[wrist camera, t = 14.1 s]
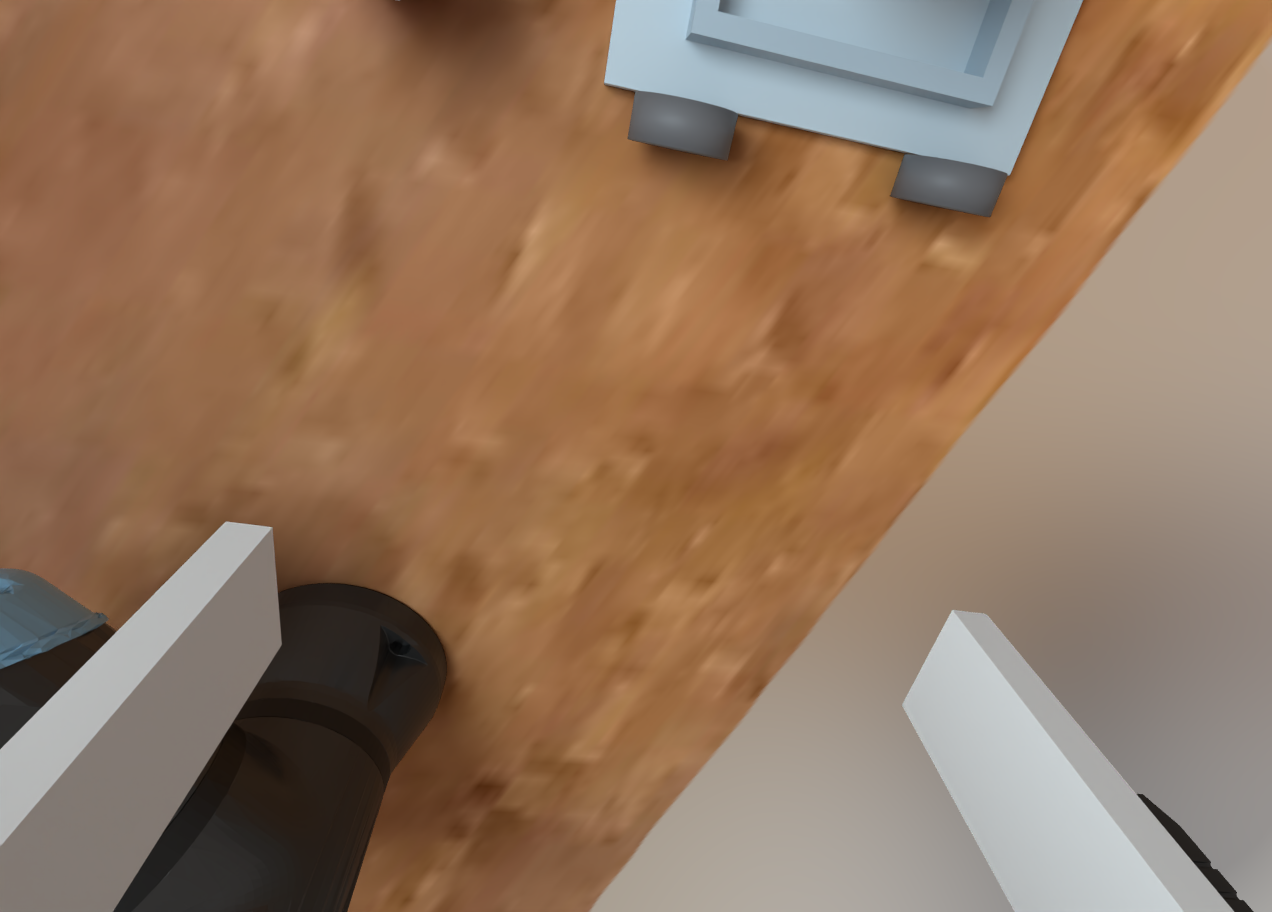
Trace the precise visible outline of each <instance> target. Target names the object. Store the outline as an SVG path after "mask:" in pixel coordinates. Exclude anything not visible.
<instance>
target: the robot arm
mask: <svg viewBox="0 0 1272 912" xmlns="http://www.w3.org/2000/svg"><path fill="white" fill-rule="evenodd" d="M108 620H109V619H108V618H107V617H106V616H105V615H104V614H103V613H93V612H91V611H90V610H89V609H87V608H86V607H84V606H83V605H81V604H80V603H78V602H77V601H75V600H74V599H72V598H71V597H70V596H68V595H67V594H65V593H64V592H62V591H61V590H59V589H58V588H56V587H55V586H53V585H52V584H50V583H49V582H48V581H46V580H45V579H43V578H41V577H40V576H38V575H36V574H33V573H31V572H28V571H24V570H19V569H0V912H347V911H348V907H349V904H350V901H351V898H352V895H353V891H354V888H355V885H356V882H357V879H358V876H359V872H360V869H361V866H362V863H363V860H364V856H365V853H366V850H367V847H368V844H369V840H370V837H371V834H372V831H373V828H374V825H375V821H376V818H377V815H378V812H379V809H380V805H381V802H382V799H383V795H384V792H385V789H386V786H387V783H388V780H389V778H390V775H391V773H392V771H393V770H394V769H395V767H396V766H397V765H398V763H399V762H400V761H401V759H402V758H403V757H404V755H405V754H406V753H407V751H408V750H409V749H410V747H411V746H412V744H413V743H414V742H415V740H416V739H417V738H418V736H419V735H420V734H421V732H422V731H423V730H424V728H425V727H426V726H427V724H428V723H429V722H430V720H431V718H432V717H433V715H434V713H435V711H436V709H437V707H438V704H439V701H440V698H441V694H442V691H443V687H444V684H445V680H446V673H447V665H446V658H445V654H444V650H443V648H442V645H441V643H440V641H439V639H438V638H437V636H436V634H435V633H434V632H433V630H432V629H431V628H430V627H429V625H428V624H427V623H426V622H425V621H424V620H423V619H422V618H421V617H419V616H418V615H417V614H416V613H415V612H413V611H412V610H411V609H409V608H408V607H406V606H405V605H403V604H401V603H400V602H398V601H396V600H394V599H392V598H390V597H388V596H386V595H383V594H381V593H378V592H375V591H372V590H369V589H365V588H361V587H357V586H351V585H344V584H328V583H325V584H310V585H304V586H299V587H294V588H291V589H288V590H285V591H282V592H280V593H278V591H277V578H276V565H275V553H274V540H273V528H272V527H266V526H258V525H250V524H242V523H233V522H225V523H224V524H223V525H222V526H221V527H220V528H219V529H218V530H217V531H216V532H215V533H214V534H213V535H212V536H211V537H210V538H209V539H208V540H207V541H206V542H205V543H204V544H203V545H202V546H201V547H200V548H199V549H198V550H197V551H196V552H195V553H194V554H193V555H192V556H191V557H190V558H189V559H188V560H187V561H186V562H185V563H184V564H183V565H182V566H181V567H180V568H179V569H178V570H177V571H176V572H175V573H174V574H173V575H172V576H171V577H170V579H169V580H168V581H167V582H166V583H165V584H164V585H163V586H162V587H161V588H160V589H159V590H158V591H157V592H156V593H155V594H154V595H153V596H152V597H151V598H150V599H149V600H148V601H147V602H146V603H145V604H144V605H143V606H142V607H141V608H140V609H139V610H138V611H137V612H136V613H135V614H134V615H133V616H132V617H131V618H130V619H129V620H128V621H127V622H126V623H125V624H124V625H123V626H122V627H121V628H120V629H119V630H118V631H116V630H114V629H113V628H112V627H111V626H109V625H108V624H107V623H105V622H106V621H108ZM902 706H903V708H904V710H905V712H906V714H907V715H908V717H909V719H910V721H911V723H912V725H913V727H914V728H915V730H916V732H917V734H918V736H919V738H920V739H921V741H922V743H923V745H924V747H925V748H926V750H927V752H928V754H929V756H930V758H931V760H932V761H933V763H934V765H935V767H936V769H937V770H938V772H939V774H940V776H941V778H942V780H943V782H944V783H945V785H946V787H947V789H948V791H949V792H950V794H951V796H952V798H953V800H954V801H955V804H956V805H957V807H958V809H959V811H960V813H961V815H962V816H963V818H964V820H965V822H966V824H967V825H968V827H969V829H970V831H971V833H972V835H973V837H974V838H975V840H976V842H977V844H978V846H979V848H980V849H981V851H982V853H983V855H984V857H985V858H986V860H987V862H988V864H989V866H990V868H991V870H992V871H993V873H994V875H995V877H996V879H997V881H998V882H999V884H1000V886H1001V888H1002V890H1003V891H1004V893H1005V895H1006V897H1007V899H1008V901H1009V902H1010V904H1011V906H1012V908H1013V910H1014V912H1253V911H1252V910H1251V908H1250V907H1249V906H1248V905H1247V904H1246V903H1245V901H1243V900H1239V899H1238V897H1237V895H1236V893H1237V892H1236V891H1235V890H1234V888H1233V887H1232V886H1231V885H1230V884H1229V883H1228V881H1227V880H1226V879H1225V878H1224V877H1223V876H1222V875H1221V873H1220V872H1219V871H1218V870H1217V869H1213V868H1212V867H1211V865H1210V863H1211V862H1210V861H1209V859H1208V858H1207V857H1206V856H1205V855H1204V854H1203V852H1202V851H1201V850H1200V849H1199V848H1198V846H1197V845H1196V844H1195V843H1194V842H1193V841H1192V839H1191V838H1190V837H1189V836H1188V835H1187V834H1186V833H1185V831H1184V830H1183V829H1182V828H1181V827H1180V826H1179V825H1178V824H1177V823H1176V822H1175V821H1173V820H1172V819H1171V818H1170V817H1169V816H1168V815H1166V814H1165V813H1164V812H1163V811H1162V810H1161V809H1159V808H1158V807H1157V806H1156V805H1154V804H1153V803H1152V802H1151V801H1150V800H1149V799H1148V798H1146V797H1145V796H1144V795H1143V794H1136V793H1135V792H1134V791H1133V790H1132V788H1131V787H1130V786H1129V785H1128V784H1127V782H1126V781H1125V780H1124V779H1123V778H1122V776H1121V775H1120V774H1119V773H1118V772H1117V770H1116V769H1115V768H1114V767H1113V766H1112V764H1111V763H1110V762H1109V761H1108V760H1107V758H1106V757H1105V756H1104V755H1103V754H1102V752H1101V751H1100V750H1099V749H1098V748H1097V747H1096V745H1095V744H1094V743H1093V742H1092V740H1091V739H1090V738H1089V737H1088V736H1087V734H1086V733H1085V732H1084V731H1083V730H1082V728H1081V727H1080V726H1079V725H1078V723H1077V722H1076V721H1075V720H1074V719H1073V717H1072V716H1071V715H1070V714H1069V713H1068V712H1067V710H1066V709H1065V708H1064V707H1063V705H1062V704H1061V703H1060V702H1059V701H1058V700H1057V698H1056V697H1055V696H1054V695H1053V694H1052V692H1051V691H1050V690H1049V689H1048V687H1047V686H1046V685H1045V684H1044V683H1043V681H1042V680H1041V679H1040V678H1039V677H1038V675H1037V674H1036V673H1035V672H1034V671H1033V669H1032V668H1031V667H1030V666H1029V665H1028V663H1027V662H1026V661H1025V660H1024V659H1023V658H1022V656H1021V655H1020V654H1019V653H1018V651H1017V650H1016V649H1015V648H1014V647H1013V645H1012V644H1011V643H1010V642H1009V641H1008V639H1007V638H1006V637H1005V636H1004V635H1003V633H1002V632H1001V631H1000V630H999V629H998V627H996V625H995V624H994V623H993V621H992V620H991V619H990V618H989V617H988V615H987V614H983V613H974V612H966V611H958V610H952V612H951V614H950V615H949V617H948V619H947V621H946V623H945V625H944V627H943V629H942V631H941V633H940V634H939V636H938V638H937V640H936V642H935V644H934V646H933V647H932V649H931V651H930V653H929V655H928V657H927V659H926V661H925V663H924V664H923V666H922V668H921V670H920V672H919V674H918V676H917V678H916V679H915V681H914V683H913V685H912V687H911V689H910V691H909V693H908V695H907V696H906V698H905V700H904V702H903V704H902Z"/></svg>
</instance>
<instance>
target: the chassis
mask: <svg viewBox="0 0 1272 912" xmlns="http://www.w3.org/2000/svg"><path fill="white" fill-rule="evenodd" d="M1082 2H1083V0H616V6H615V13H614V20H613V26H612V33H611V40H610V47H609V54H608V61H607V68H606V74H605V81H604V85H608V86H613V87H617V88H621V89H626V90H630V91H635V97H634V103H633V109H632V115H631V121H630V127H629V133H628V139H630V140H633V141H637V142H641V143H646V144H650V145H654V146H659V147H663V148H668V149H672V150H677V151H682V152H686V153H691V154H696V155H701V156H706V157H711V158H716V159H721V160H728V156H729V152H730V148H731V143H732V139H733V135H734V130H735V126H736V122H737V117H738V115H740V116H744V117H748V118H753V119H757V120H762V121H766V122H770V123H775V124H779V125H783V126H788V127H792V128H797V129H801V130H805V131H810V132H814V133H818V134H823V135H827V136H832V137H836V138H840V139H845V140H849V141H853V142H858V143H862V144H867V145H871V146H875V147H880V148H884V149H888V150H893V151H897V152H902V153H906V155H904V157H903V160H902V163H901V166H900V169H899V172H898V175H897V177H896V180H895V183H894V186H893V189H892V192H891V195H890V196H891V197H894V198H898V199H903V200H907V201H912V202H916V203H921V204H926V205H930V206H935V207H940V208H945V209H950V210H954V211H959V212H964V213H969V214H975V215H980V216H986V217H990V216H991V214H992V211H993V209H994V206H995V204H996V202H997V199H998V197H999V194H1000V192H1001V190H1002V187H1003V185H1004V182H1005V180H1006V178H1007V175H1010V174H1011V171H1012V169H1013V166H1014V164H1015V162H1016V159H1017V157H1018V154H1019V152H1020V150H1021V147H1022V145H1023V143H1024V140H1025V138H1026V135H1027V133H1028V131H1029V128H1030V126H1031V123H1032V121H1033V119H1034V116H1035V114H1036V111H1037V109H1038V107H1039V104H1040V102H1041V100H1042V97H1043V95H1044V92H1045V90H1046V88H1047V85H1048V83H1049V80H1050V78H1051V76H1052V73H1053V71H1054V68H1055V66H1056V64H1057V61H1058V59H1059V57H1060V54H1061V52H1062V49H1063V47H1064V45H1065V42H1066V40H1067V37H1068V35H1069V33H1070V30H1071V28H1072V25H1073V23H1074V21H1075V18H1076V16H1077V14H1078V11H1079V9H1080V6H1081V4H1082Z"/></svg>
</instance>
